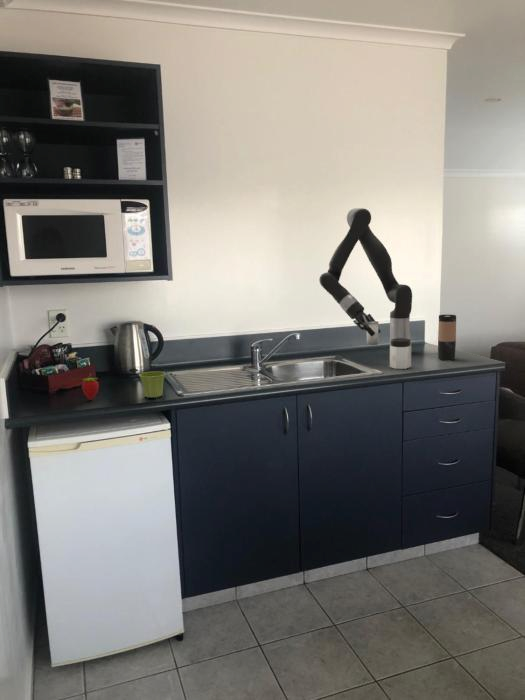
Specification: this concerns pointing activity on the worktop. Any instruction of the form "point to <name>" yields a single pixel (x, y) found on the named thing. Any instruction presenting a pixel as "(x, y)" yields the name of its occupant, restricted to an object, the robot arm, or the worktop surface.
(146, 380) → the plant pot
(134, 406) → the worktop surface
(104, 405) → the worktop surface
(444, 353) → the travel mug
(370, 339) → the canister
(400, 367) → the jar
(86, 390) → the strawberry
